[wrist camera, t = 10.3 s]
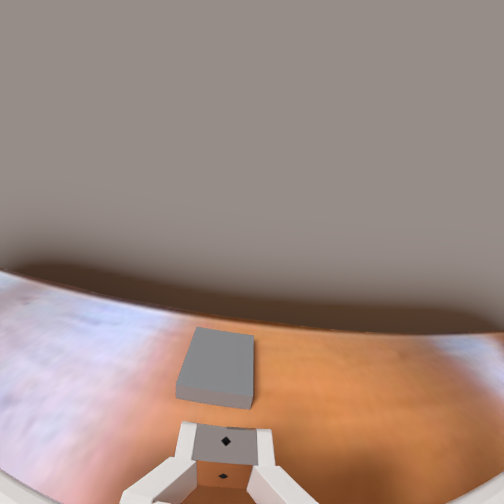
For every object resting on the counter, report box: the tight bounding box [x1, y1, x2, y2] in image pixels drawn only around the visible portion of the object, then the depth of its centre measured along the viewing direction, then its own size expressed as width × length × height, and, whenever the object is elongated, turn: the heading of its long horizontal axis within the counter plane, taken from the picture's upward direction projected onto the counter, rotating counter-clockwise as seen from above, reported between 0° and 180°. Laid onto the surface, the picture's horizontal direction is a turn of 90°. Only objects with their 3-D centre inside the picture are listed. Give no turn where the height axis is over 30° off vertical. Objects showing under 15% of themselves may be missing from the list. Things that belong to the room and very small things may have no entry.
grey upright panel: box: [176, 327, 254, 410], centre depth 29 cm, size 2×7×11 cm
